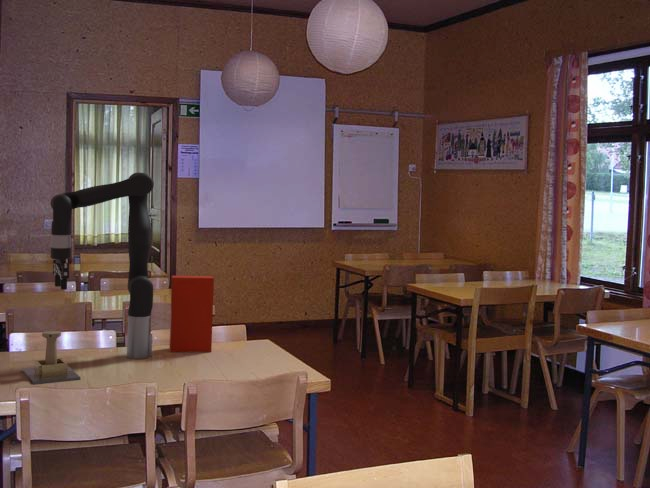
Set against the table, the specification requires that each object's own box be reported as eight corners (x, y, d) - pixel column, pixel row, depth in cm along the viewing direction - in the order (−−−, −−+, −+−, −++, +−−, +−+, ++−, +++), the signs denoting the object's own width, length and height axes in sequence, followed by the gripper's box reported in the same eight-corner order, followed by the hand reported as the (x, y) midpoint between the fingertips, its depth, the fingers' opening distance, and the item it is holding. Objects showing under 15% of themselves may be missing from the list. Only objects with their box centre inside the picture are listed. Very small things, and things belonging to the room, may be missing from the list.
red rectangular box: (169, 348, 319) (171, 275, 316) (209, 347, 323) (212, 275, 320) (170, 352, 311) (172, 277, 308) (211, 352, 315) (213, 278, 313)
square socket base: (66, 366, 281) (66, 354, 280) (80, 379, 264) (80, 366, 264) (22, 370, 272) (22, 357, 271) (33, 384, 255) (33, 370, 255)
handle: (59, 374, 266) (59, 333, 265) (40, 374, 265) (41, 333, 264) (61, 371, 271) (61, 331, 270) (42, 371, 270) (43, 330, 268)
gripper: (76, 247, 279) (75, 290, 281) (65, 244, 291) (65, 284, 292) (55, 248, 275) (55, 291, 276) (46, 244, 287) (46, 285, 288)
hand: (60, 287), depth 284 cm, fingers open, 8 cm apart
